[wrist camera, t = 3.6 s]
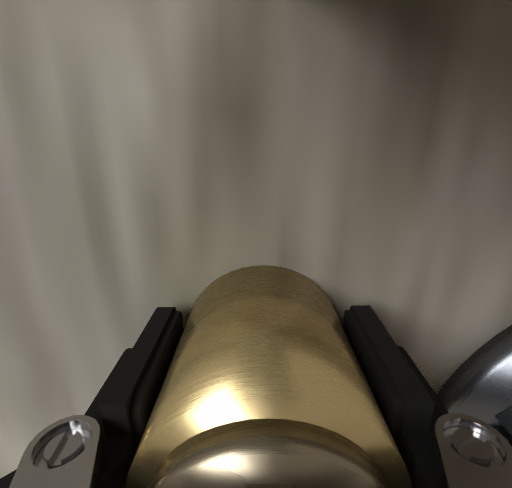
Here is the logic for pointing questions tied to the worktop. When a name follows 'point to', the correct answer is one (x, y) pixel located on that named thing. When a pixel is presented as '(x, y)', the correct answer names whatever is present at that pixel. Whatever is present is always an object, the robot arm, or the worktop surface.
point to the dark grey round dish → (484, 385)
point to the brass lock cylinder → (266, 396)
